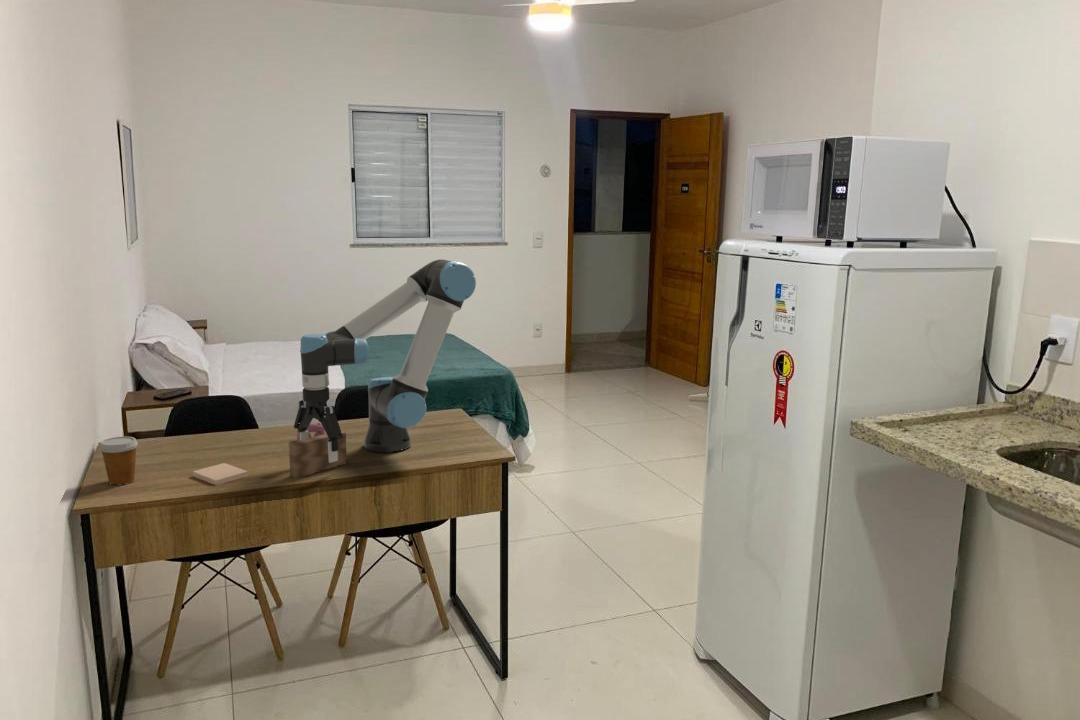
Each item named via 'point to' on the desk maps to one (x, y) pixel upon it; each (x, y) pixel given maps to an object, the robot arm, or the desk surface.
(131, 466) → the disposable coffee cup
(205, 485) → the desk surface
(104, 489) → the desk surface
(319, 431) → the video game controller
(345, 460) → the wooden plank
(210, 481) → the tile
